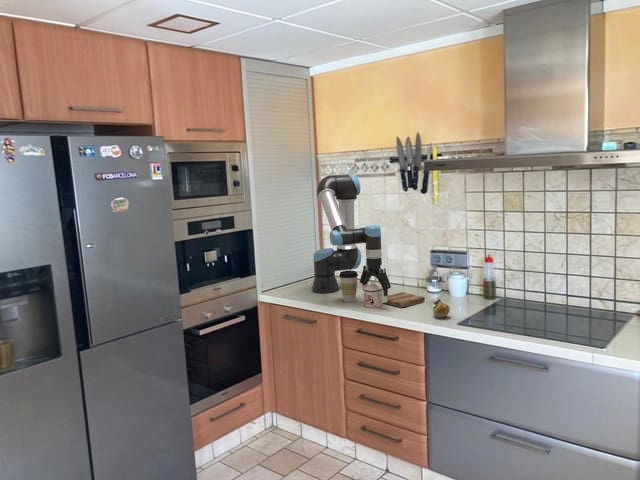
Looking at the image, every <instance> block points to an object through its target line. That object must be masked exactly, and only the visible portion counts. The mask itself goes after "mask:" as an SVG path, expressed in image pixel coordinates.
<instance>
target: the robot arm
mask: <svg viewBox="0 0 640 480" xmlns="http://www.w3.org/2000/svg"><path fill="white" fill-rule="evenodd" d="M360 183H361V182H360V180H359V178H358V176H357V175H356V174H353V173H352V174H351V173H350V174H348V173H345V174H329V175H327V176H325V177H323V178H322V179H321V180H320V181H319V183H318V184H317V187H316V197H317V200H318V201H319V202H321V205H322V207H323V210H324V214H325V215H326V218H327V222H328V224H329V228H330V230H331V231H330V232H329V236H328V238H329V243H330V244H331V245H332V246H336V250H335V249H334V247H333V248H332V247H328V248H321V249H318V250H316V251H314V253H313V259H312V261H313V272H314V279H313V282H312V286H311V291H312V292H313V293H316V294H331V293H335V292H338V291H339V288H340V287H339V283H338V281H337V278H336V272H342V271H353V270H356V269H358V268H359V267H360V265H361V263H362V253H361V250H360V249H359V248H358V244H365V257H366V258H365V260H366V263H365V265H363V267H362V269H363V270H362V272H361V276H360V279H359V283H360V284H362V290H363V292H364V288H365V287H367V286H369V284H368V283H369V281H370V280H371V278H372V277H374V278H376V279H377V281H378V282H379V284H380V287H382V304H386V303H385V302H387V296H388V293H389V289H391V288H392V286H391V284H390V281H389V278H388V275H387V271H386V268H381V267H382V263H383V262H382V260H383V259H382V230H381V226H380V225H375V224H374V225H371V224H370V225H366V226H365V227H359V228H355V202H356V201H357V198H358V197H357V196H359V195H360V194H361V184H360ZM363 298H364V299H365V297H364V296H363Z"/></svg>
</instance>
